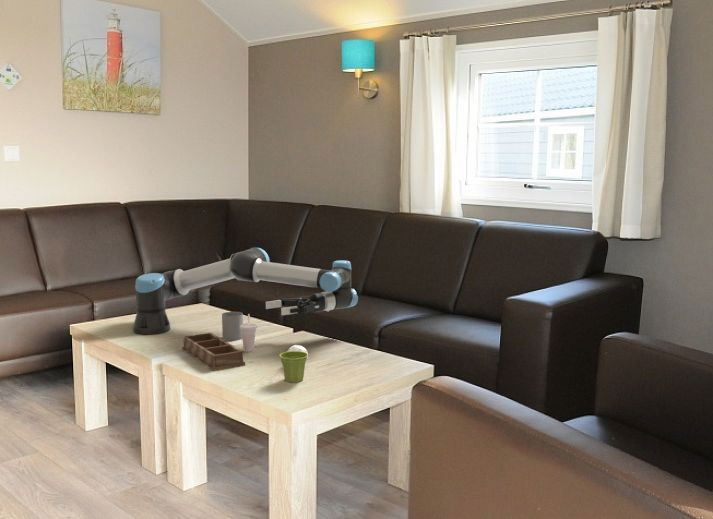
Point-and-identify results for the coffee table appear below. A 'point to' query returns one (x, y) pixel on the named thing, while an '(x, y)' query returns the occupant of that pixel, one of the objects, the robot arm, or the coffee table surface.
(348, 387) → the coffee table surface
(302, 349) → the geometric ball
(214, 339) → the caddy
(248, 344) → the smoothie
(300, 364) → the plant pot
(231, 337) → the cup
